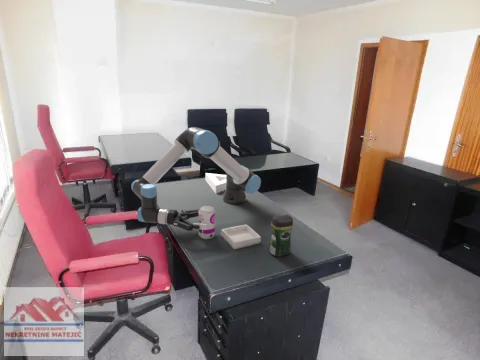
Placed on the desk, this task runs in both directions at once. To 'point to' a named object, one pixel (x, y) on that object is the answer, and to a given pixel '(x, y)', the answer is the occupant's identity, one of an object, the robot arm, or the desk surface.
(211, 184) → the triangle block
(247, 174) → the robot arm
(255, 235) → the tray
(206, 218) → the supplement can
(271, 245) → the coffee jar
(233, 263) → the desk surface
